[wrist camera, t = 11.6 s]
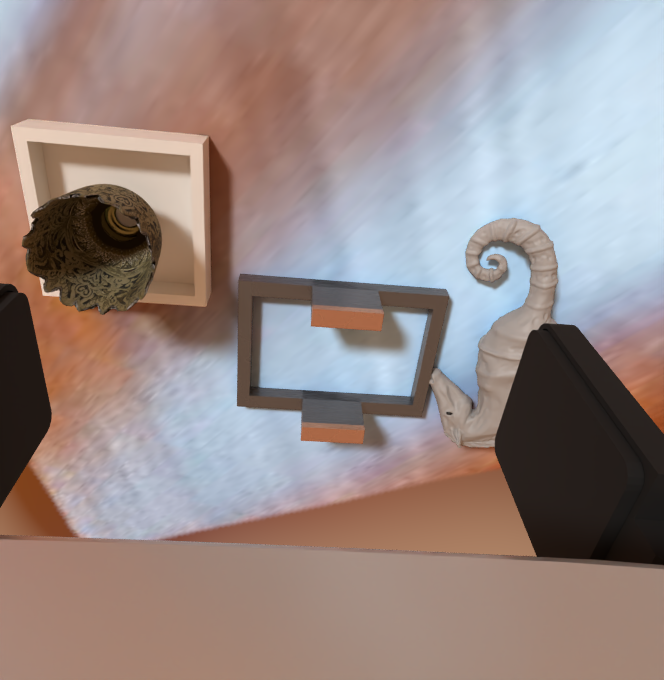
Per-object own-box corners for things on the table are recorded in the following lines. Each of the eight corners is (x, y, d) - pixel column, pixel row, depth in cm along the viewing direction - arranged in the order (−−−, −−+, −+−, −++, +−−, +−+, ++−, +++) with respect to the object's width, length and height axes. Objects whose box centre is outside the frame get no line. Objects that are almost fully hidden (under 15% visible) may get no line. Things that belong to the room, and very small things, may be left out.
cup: (155, 281, 42) (124, 335, 35) (58, 231, 40) (5, 279, 33) (198, 198, 39) (173, 240, 32) (96, 139, 36) (45, 170, 30)
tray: (208, 135, 37) (202, 143, 35) (211, 291, 43) (206, 306, 41) (28, 118, 36) (10, 126, 34) (56, 280, 42) (42, 295, 40)
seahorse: (410, 232, 40) (428, 461, 48) (585, 222, 36) (574, 474, 44) (423, 216, 44) (438, 428, 52) (581, 206, 40) (571, 438, 48)
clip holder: (446, 288, 43) (460, 319, 39) (419, 409, 50) (429, 447, 45) (240, 272, 42) (232, 303, 38) (238, 398, 48) (231, 436, 44)
